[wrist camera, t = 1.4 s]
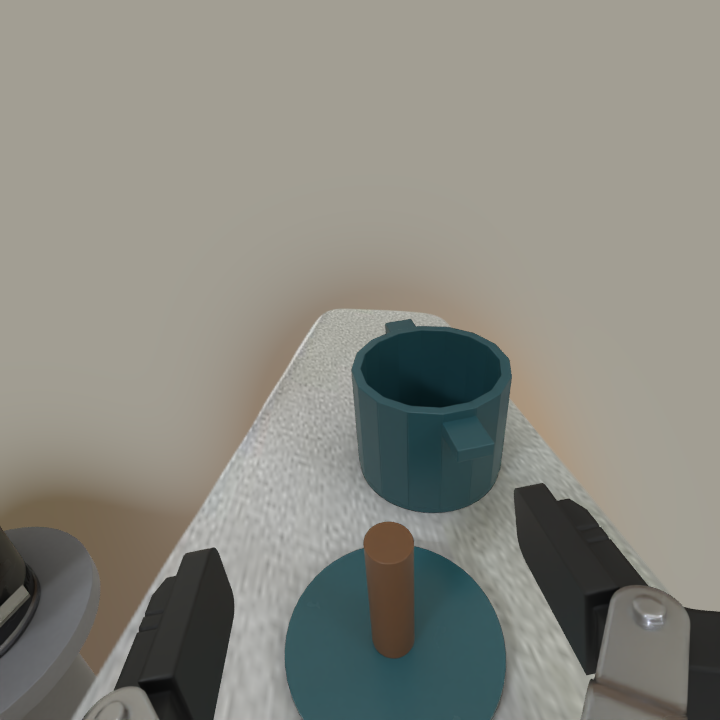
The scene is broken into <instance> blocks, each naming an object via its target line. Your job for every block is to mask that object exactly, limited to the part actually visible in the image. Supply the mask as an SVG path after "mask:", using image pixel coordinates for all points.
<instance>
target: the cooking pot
mask: <svg viewBox="0 0 720 720" xmlns="http://www.w3.org/2000/svg"><path fill="white" fill-rule="evenodd" d="M385 329H386V334H385V335H382V336H380V337H377V338H375V339H373V340H371V341H370V342H369V343H368V344H366V345H365V346H364V347H363V348H362V349H361V350H360V351H359V352H357V354H356V357H355V360H354V363H353V366H352V369H351V372H352V383H353V394H354V406H355V417H356V429H357V440H358V451H359V460H360V463H361V468H362V472H363V475H364V477H365V479H366V481H367V482H368V484H369V485H370V486H371V488H372V489H373V490H374V491H375V492H376V493H377V494H379V495H380V496H381V497H383V498H384V499H386V500H387V501H389V502H391V503H393V504H395V505H397V506H400V507H402V508H405V509H409V510H413V511H419V512H428V513H439V512H448V511H454V510H457V509H461V508H464V507H466V506H469V505H471V504H473V503H474V502H476V501H478V500H479V499H481V498H482V497H483V496H484V495H486V493H487V492H488V491H489V490H490V489H491V488H492V486H493V485H494V483H495V481H496V478H497V476H498V472H499V470H500V466H501V458H502V450H503V442H504V434H505V426H506V418H507V411H508V403H509V394H510V386H511V379H512V375H511V368H510V361H509V358H508V357H507V356H506V355H505V354H504V353H503V352H502V351H501V350H500V348H499V347H498V346H497V345H496V344H494V343H492V342H490V341H488V340H487V339H485V338H483V337H480V336H479V335H477V334H475V333H472V332H467V331H463V330H459V329H455V328H450V327H432V326H417V327H416V326H415V324H414V323H413V321H412V320H411V319H408V320H402V321H396V322H389V323H386V324H385Z"/></svg>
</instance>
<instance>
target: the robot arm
mask: <svg viewBox="0 0 720 720" xmlns="http://www.w3.org/2000/svg"><path fill="white" fill-rule="evenodd" d="M514 503H515V515H516V527H517V537H518V542H519V546H520V549H521V552H522V555H523V557H524V559H525V561H526V563H527V565H528V567H529V569H530V571H531V572H532V574H533V576H534V578H535V580H536V582H537V584H538V585H539V587H540V589H541V591H542V593H543V595H544V597H545V599H546V600H547V602H548V604H549V606H550V608H551V610H552V612H553V613H554V615H555V617H556V619H557V621H558V623H559V625H560V627H561V628H562V630H563V632H564V634H565V636H566V638H567V640H568V641H569V643H570V645H571V647H572V649H573V651H574V653H575V655H576V656H577V658H578V660H579V662H580V664H581V666H582V668H583V669H584V671H585V673H586V675H590V674H595V673H596V674H595V678H594V680H593V679H591V680H590V682H589V685H588V688H587V693H586V697H585V702H584V707H583V712H582V716H581V720H720V612H716V611H704V610H695V609H690V608H686V607H683V606H682V605H681V604H680V603H679V602H678V601H677V600H676V599H675V598H673V597H672V596H671V595H669V594H667V593H666V592H664V591H661V590H659V589H656V588H653V587H649V586H648V585H647V584H646V583H645V581H644V580H643V579H642V578H641V576H640V575H639V574H638V573H637V571H636V570H635V569H634V568H633V566H632V565H631V564H630V563H629V561H628V560H627V559H626V558H625V556H624V555H623V554H622V553H621V551H620V550H619V549H618V548H617V547H616V545H615V544H614V543H613V542H612V540H611V539H609V538H608V535H607V534H606V533H605V532H604V530H603V529H602V528H601V527H599V524H598V523H597V522H596V520H595V519H594V518H593V517H592V515H591V514H590V513H589V512H588V510H587V509H585V508H583V507H582V506H580V505H579V504H577V503H575V502H574V501H572V500H570V499H564V500H559V501H557V500H556V499H555V497H554V496H553V495H552V493H551V492H550V491H549V489H548V488H547V487H546V485H545V484H543V483H540V484H535V485H530V486H525V487H520V488H515V490H514ZM40 594H41V588H40V582H39V579H38V577H37V576H36V574H35V573H34V571H33V570H32V568H31V567H30V566H29V565H28V564H26V563H25V561H24V560H23V558H22V557H21V556H20V554H19V553H18V551H17V550H16V548H15V547H14V546H13V544H12V542H11V541H10V540H9V538H8V537H7V535H6V534H5V532H4V531H3V530H2V528H1V527H0V658H1V657H2V656H4V655H5V654H6V653H7V652H8V651H9V650H10V649H11V648H12V647H13V645H14V644H15V643H16V642H17V641H18V640H19V638H20V637H21V636H22V634H23V633H24V632H25V630H26V629H27V627H28V626H29V624H30V622H31V621H32V619H33V617H34V615H35V613H36V610H37V608H38V604H39V601H40ZM233 618H234V597H233V592H232V589H231V586H230V583H229V581H228V578H227V575H226V572H225V569H224V567H223V564H222V561H221V558H220V555H219V553H218V551H217V549H216V548H210V549H205V550H200V551H195V552H190V553H186V554H185V555H184V556H183V559H182V562H181V564H180V567H179V570H178V573H177V575H176V576H173V577H168V578H166V579H165V581H164V582H163V583H162V584H161V585H160V587H159V588H158V589H157V590H156V591H155V593H154V594H153V595H152V597H151V600H150V602H149V605H148V607H147V610H146V612H145V617H143V620H142V622H141V625H140V627H139V633H137V634H136V637H135V639H134V642H133V644H132V647H131V649H130V652H129V654H128V657H127V659H126V662H125V664H124V667H123V669H122V672H121V674H120V676H119V679H118V681H117V684H116V686H115V689H114V691H113V692H111V693H109V694H108V695H106V696H104V697H103V698H102V699H100V700H99V701H98V702H97V703H96V704H95V705H94V706H93V707H92V708H91V709H90V710H89V711H88V712H87V714H86V715H85V716H84V718H83V719H82V720H213V719H214V714H215V709H216V704H217V698H218V693H219V688H220V683H221V678H222V673H223V668H224V663H225V658H226V653H227V648H228V643H229V638H230V633H231V628H232V623H233Z"/></svg>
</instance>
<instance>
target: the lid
mask: <svg viewBox="0 0 720 720" xmlns="http://www.w3.org/2000/svg"><path fill="white" fill-rule="evenodd" d="M285 669H286V675H287V681H288V685H289V688H290V692H291V695H292V698H293V701H294V703H295V706H296V708H297V710H298V712H299V715H300V716H301V718H302V719H303V720H492V718H493V716H494V714H495V711H496V709H497V707H498V704H499V701H500V698H501V694H502V690H503V686H504V679H505V672H506V651H505V644H504V637H503V633H502V630H501V626H500V623H499V620H498V618H497V615H496V613H495V610H494V609H493V607H492V605H491V603H490V601H489V599H488V598H487V596H486V595H485V593H484V592H483V591H482V589H481V588H480V587H479V585H478V584H477V583H476V582H475V581H474V580H473V579H472V578H471V577H470V576H469V575H468V574H467V573H466V572H465V571H464V570H463V569H461V568H460V567H459V566H457V565H456V564H454V563H453V562H452V561H450V560H448V559H446V558H445V557H443V556H441V555H439V554H436V553H434V552H432V551H429V550H426V549H423V548H419V547H415V546H414V540H413V537H412V534H411V533H410V531H409V530H408V529H407V528H406V527H404V526H403V525H401V524H399V523H395V522H382V523H379V524H376V525H375V526H373V527H372V528H370V529H369V531H368V532H367V533H366V535H365V538H364V548H362V549H359V550H356V551H354V552H351V553H349V554H347V555H345V556H343V557H341V558H339V559H337V560H336V561H334V562H333V563H331V564H330V565H329V566H327V567H326V568H325V569H324V570H323V571H321V572H320V573H319V574H318V575H317V576H316V577H315V578H314V579H313V581H312V582H311V583H310V584H309V585H308V586H307V588H306V589H305V591H304V592H303V594H302V595H301V597H300V599H299V601H298V603H297V605H296V607H295V609H294V611H293V614H292V617H291V619H290V622H289V626H288V631H287V635H286V643H285Z"/></svg>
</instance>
